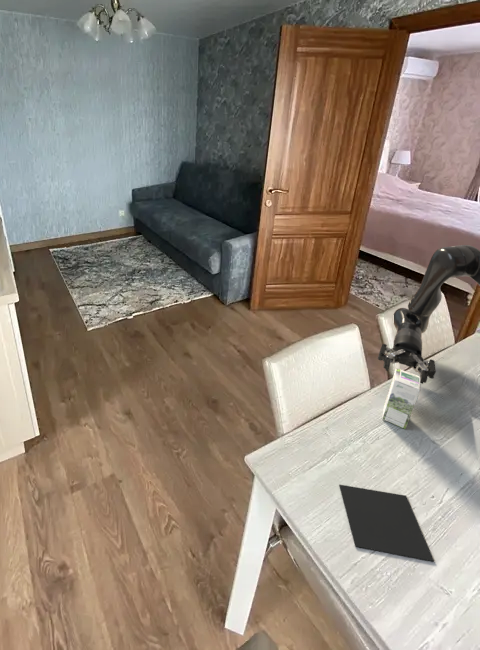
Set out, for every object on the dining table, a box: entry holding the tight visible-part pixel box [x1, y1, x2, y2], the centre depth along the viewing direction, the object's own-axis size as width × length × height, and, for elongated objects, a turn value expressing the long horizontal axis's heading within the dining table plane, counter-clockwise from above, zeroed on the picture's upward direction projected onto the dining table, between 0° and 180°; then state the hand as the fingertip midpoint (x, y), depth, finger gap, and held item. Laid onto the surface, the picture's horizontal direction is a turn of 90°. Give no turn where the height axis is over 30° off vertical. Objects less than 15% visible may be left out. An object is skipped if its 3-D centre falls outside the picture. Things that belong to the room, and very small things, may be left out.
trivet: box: [338, 484, 435, 563], centre depth 72 cm, size 14×12×1 cm
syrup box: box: [381, 367, 421, 430], centre depth 93 cm, size 6×6×14 cm
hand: (404, 374), depth 99 cm, fingers open, 8 cm apart
